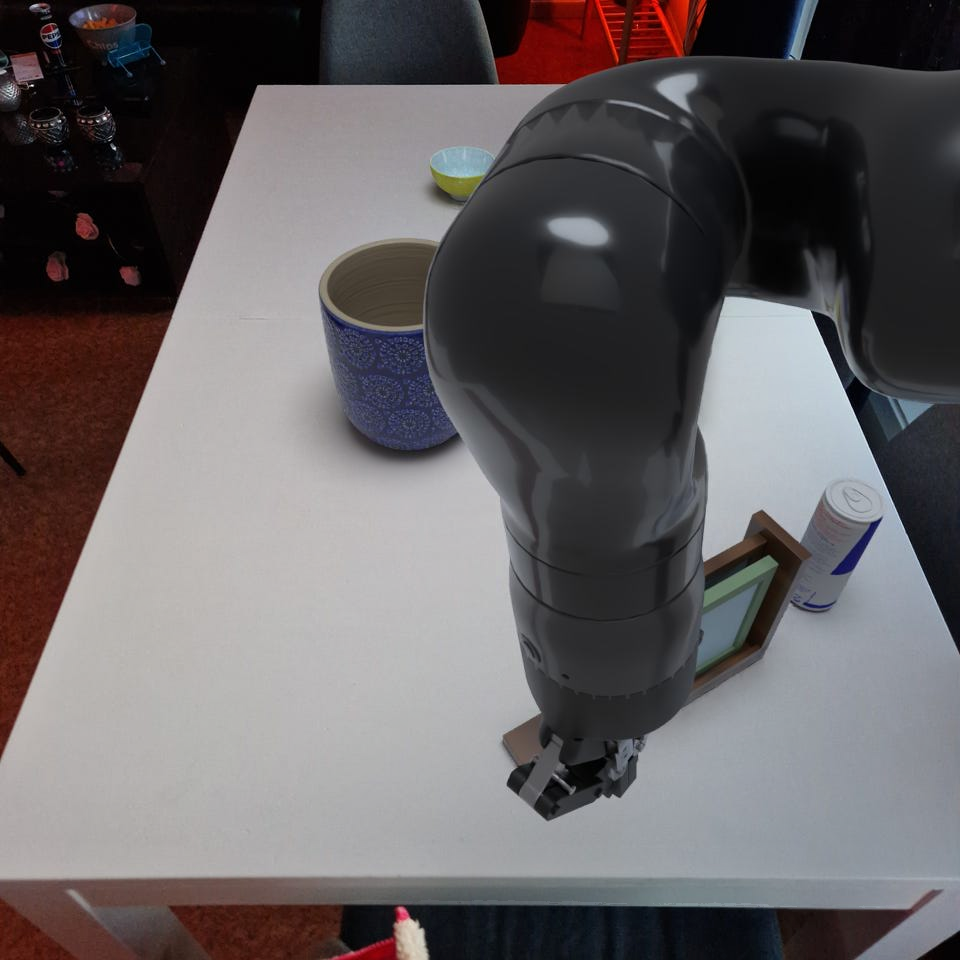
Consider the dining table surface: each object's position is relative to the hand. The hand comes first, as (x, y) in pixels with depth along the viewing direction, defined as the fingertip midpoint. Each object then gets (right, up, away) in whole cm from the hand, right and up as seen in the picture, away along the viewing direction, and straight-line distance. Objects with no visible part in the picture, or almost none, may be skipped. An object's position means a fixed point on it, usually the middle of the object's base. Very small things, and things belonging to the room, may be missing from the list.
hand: (613, 777), depth 46 cm
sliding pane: (+13, -2, +33) cm, 35 cm away
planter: (-16, +24, +60) cm, 66 cm away
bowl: (-10, +67, +98) cm, 119 cm away
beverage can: (+27, +5, +41) cm, 50 cm away
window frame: (+8, -4, +33) cm, 34 cm away
